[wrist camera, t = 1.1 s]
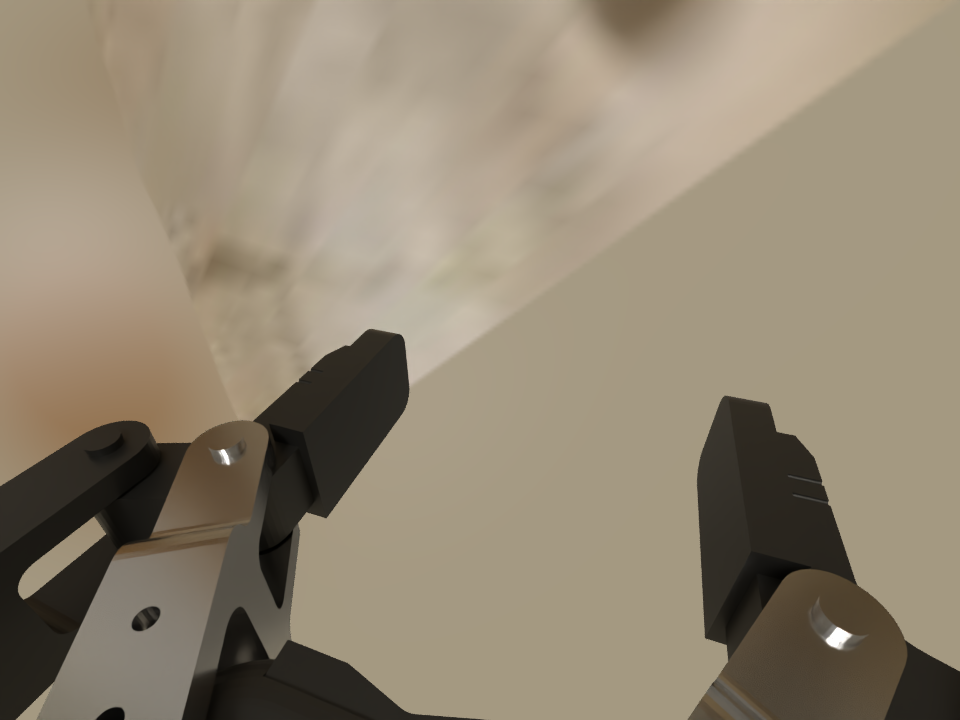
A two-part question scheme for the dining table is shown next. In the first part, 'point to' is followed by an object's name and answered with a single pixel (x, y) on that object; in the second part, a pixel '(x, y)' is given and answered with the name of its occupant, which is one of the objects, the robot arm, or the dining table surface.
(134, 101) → the dining table surface
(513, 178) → the dining table surface
